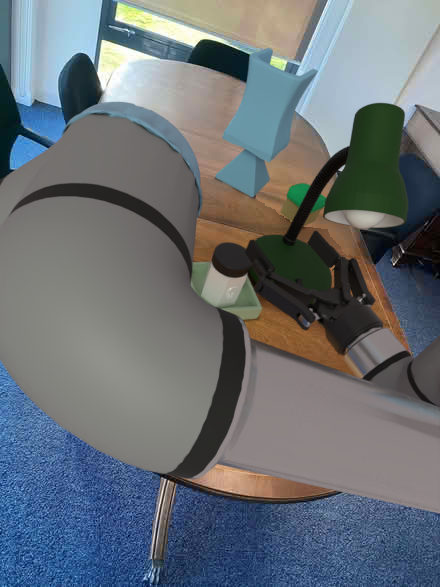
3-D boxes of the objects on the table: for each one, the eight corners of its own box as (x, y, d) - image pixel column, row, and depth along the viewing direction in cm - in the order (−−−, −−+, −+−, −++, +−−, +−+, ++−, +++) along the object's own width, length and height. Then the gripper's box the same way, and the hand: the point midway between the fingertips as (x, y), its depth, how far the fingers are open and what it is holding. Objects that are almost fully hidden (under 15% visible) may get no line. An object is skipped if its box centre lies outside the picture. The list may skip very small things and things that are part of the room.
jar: (207, 311, 83) (222, 272, 74) (193, 283, 87) (206, 243, 79) (243, 304, 87) (261, 267, 78) (228, 278, 91) (243, 240, 83)
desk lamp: (345, 341, 89) (496, 167, 57) (252, 329, 83) (361, 131, 52) (316, 251, 109) (415, 87, 77) (240, 237, 104) (313, 55, 72)
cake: (292, 202, 124) (306, 175, 117) (318, 221, 120) (333, 194, 113) (274, 209, 118) (287, 181, 111) (300, 230, 114) (315, 202, 107)
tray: (195, 324, 80) (199, 313, 78) (179, 273, 89) (182, 262, 86) (257, 318, 86) (262, 308, 83) (236, 271, 95) (240, 260, 92)
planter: (272, 181, 129) (318, 70, 104) (254, 200, 118) (301, 81, 94) (232, 160, 132) (268, 47, 107) (211, 177, 121) (245, 55, 96)
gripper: (283, 381, 50) (212, 268, 61) (402, 336, 63) (325, 248, 73) (308, 349, 45) (225, 231, 56) (432, 307, 57) (344, 217, 68)
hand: (282, 241), depth 65 cm, fingers open, 13 cm apart
